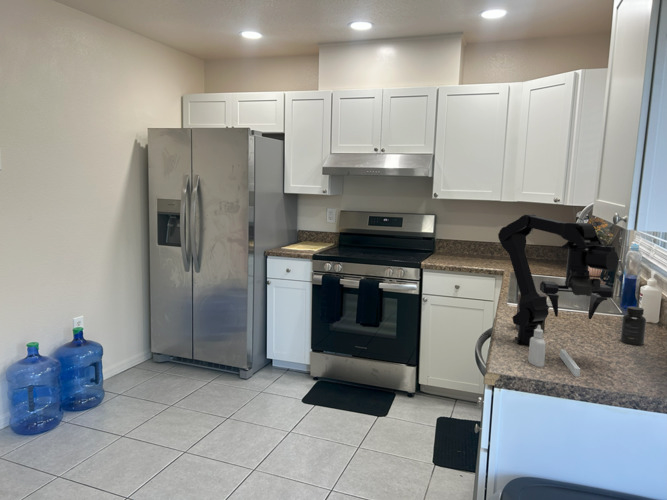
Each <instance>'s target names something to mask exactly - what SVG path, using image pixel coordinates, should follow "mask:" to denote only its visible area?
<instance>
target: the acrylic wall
mask: <svg viewBox="0 0 667 500" xmlns="http://www.w3.org/2000/svg"><path fill="white" fill-rule="evenodd" d="M559 358H560V359H561V361H562V362H563V363H564V365H565V366H566V368H567V369H568V370H569V371H570V373H571V374H572V375H573V377H576V378H580V374H581V368H580V367H579V365H577V363H576V362H575V361H574V359H573V358H572V356H570V355H569V354H568V352H567V350H566V349H562V348H561V349H560V351H559Z"/></svg>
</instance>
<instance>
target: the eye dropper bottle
mask: <svg viewBox="0 0 667 500" xmlns="http://www.w3.org/2000/svg"><path fill="white" fill-rule="evenodd" d="M546 345H547V343H546V340H545V339H544V333H543V330H542V329H541V326H540V325H538V327H537V329H535V330H534V337H531V338H530V345H528V346H529V348H528V359H527V360H528V362H529V364H531V365H533V366H535V367H541V368H543V367H545V361H546Z"/></svg>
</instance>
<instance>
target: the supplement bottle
mask: <svg viewBox="0 0 667 500" xmlns="http://www.w3.org/2000/svg"><path fill="white" fill-rule="evenodd" d="M643 315H644V308H643V307H639V306H633V305H632V306H631V305H630V306H627V307H626V314H624V315H623V316H622V319H621V320H622V321H621V331H620V332H621V333H620V341H621V342H622V343H624V344H627V345H631V346H642V345H644V344H645V338H646V336H645V335H646V326H647V319H646V317H645V316H643Z"/></svg>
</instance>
